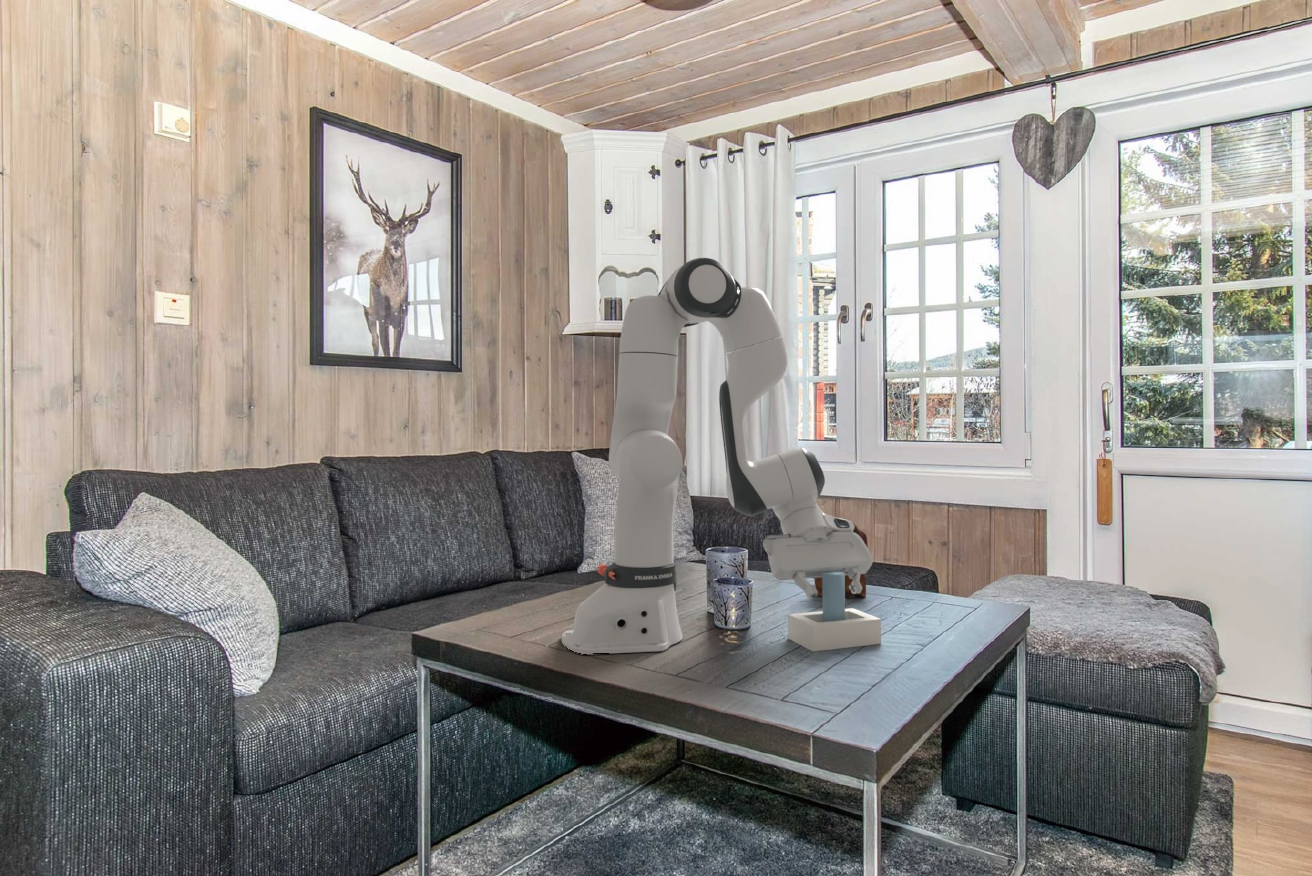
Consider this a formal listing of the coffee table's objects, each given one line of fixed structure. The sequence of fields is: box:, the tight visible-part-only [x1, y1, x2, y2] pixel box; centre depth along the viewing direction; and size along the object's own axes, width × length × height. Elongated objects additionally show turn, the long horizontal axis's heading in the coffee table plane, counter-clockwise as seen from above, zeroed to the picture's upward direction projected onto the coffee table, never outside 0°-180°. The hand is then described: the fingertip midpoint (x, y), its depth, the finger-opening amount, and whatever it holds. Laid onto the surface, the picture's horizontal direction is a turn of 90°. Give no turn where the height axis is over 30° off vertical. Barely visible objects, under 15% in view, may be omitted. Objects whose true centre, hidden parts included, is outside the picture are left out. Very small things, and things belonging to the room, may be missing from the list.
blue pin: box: [822, 571, 846, 622], centre depth 144 cm, size 4×4×12 cm
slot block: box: [787, 607, 882, 653], centre depth 144 cm, size 14×9×4 cm, turn 109°
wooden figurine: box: [813, 517, 869, 599], centre depth 182 cm, size 12×6×18 cm, turn 97°
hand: (835, 593), depth 144 cm, fingers open, 8 cm apart
